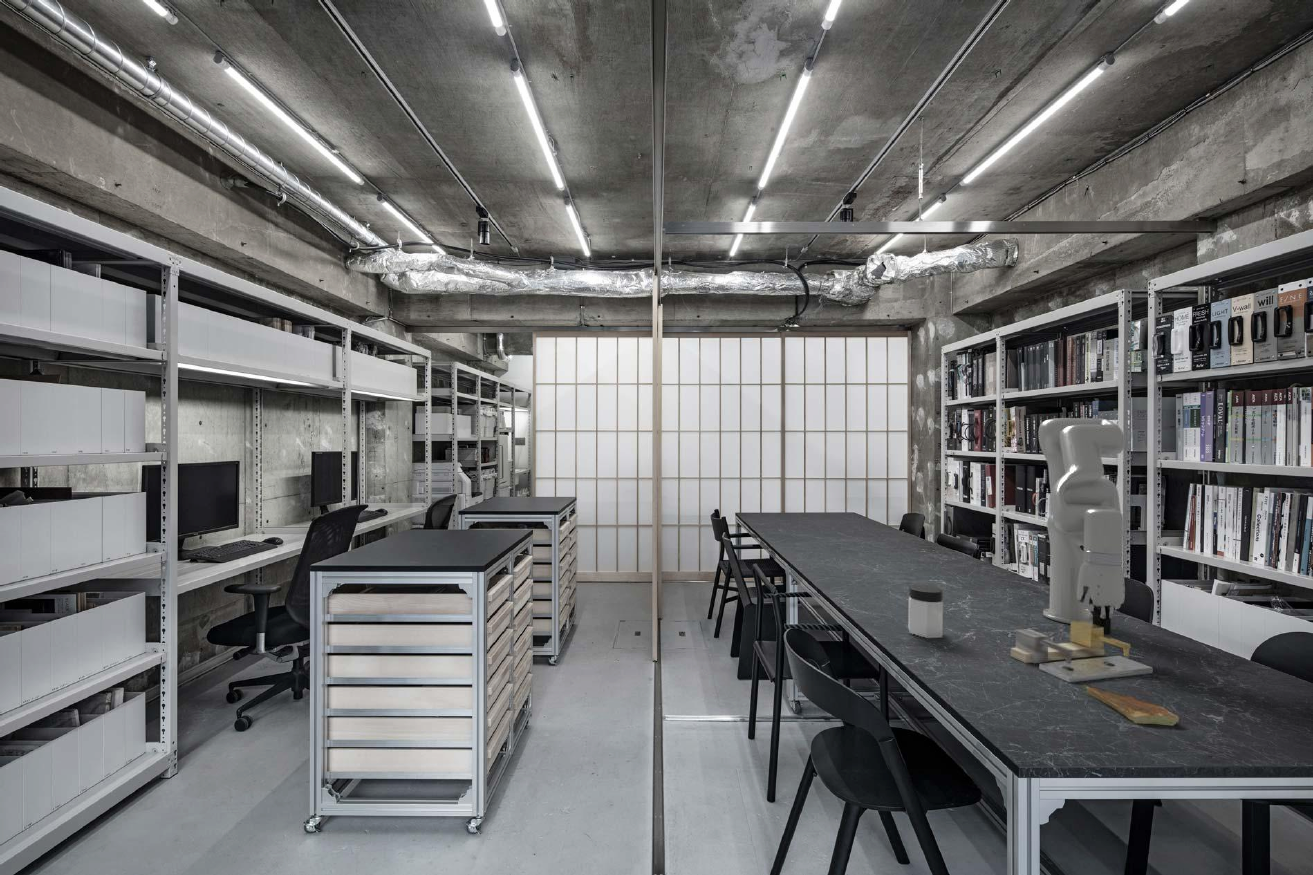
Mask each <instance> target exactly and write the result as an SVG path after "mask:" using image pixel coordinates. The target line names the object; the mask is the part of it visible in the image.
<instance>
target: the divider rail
mask: <svg viewBox="0 0 1313 875" xmlns="http://www.w3.org/2000/svg"><path fill="white" fill-rule="evenodd" d="M1098 656H1101V657H1102V656H1105V646H1103V647H1100V648H1088V647H1086V646H1083V645H1080V644H1077V643H1075V642H1072V641H1071V642H1063V643H1062V642H1061V643H1055V642H1053V641H1051V640H1049V636H1048V635H1046V634H1044V633H1041V632H1038V631H1036V630H1032V629H1029V628H1026V629H1016V630H1015V647H1010V657H1011V658H1013V659H1016V660H1018V661H1020V662H1022V663H1024V664H1029V663H1033V664H1037V663H1038V664H1042V663H1049V662H1050V661H1057V660H1058V661H1059V660H1065V661H1066V663H1068V664H1071V661H1072V659H1077V658H1089V657H1098Z"/></svg>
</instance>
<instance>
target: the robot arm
mask: <svg viewBox="0 0 1313 875" xmlns="http://www.w3.org/2000/svg"><path fill="white" fill-rule="evenodd" d="M1037 432H1038V442H1039V447H1040V449H1041V452H1042V454H1043V456H1044V458H1045V461H1046V463H1047V468H1048V479H1049V480H1048V482H1049V490H1050V491H1049V492H1050V500H1049V501H1050V509H1051V514H1050V515H1049V516H1048V518H1047V523H1046V525H1047V533H1048V538H1049V552H1050V556H1049V558H1050V560H1049V561H1050V562H1049V563H1050V566H1049V567H1050V568H1049V570H1050V571H1049V574H1050V575H1049V608H1045V609H1043V611H1042V612H1043V613H1042V614H1043V616H1044V617H1045V618H1047V619H1050V620H1053V621H1056V622H1061V623H1064V624H1068V625H1071V622H1073V621H1086V622H1089V623H1092V624H1095V625H1098V626H1101V627H1104V636H1107V635H1111V634H1112V633H1111V632H1112V631H1111V630H1112V629H1111V628H1112V625H1111V624H1112V618H1113V617H1114V612H1115V611H1117V610H1118V609H1120V608H1121V605H1122V604H1124V602H1125V598H1126V597H1125V596H1126V595H1125V594H1126V586H1125V575H1124V574H1125V573H1124V569H1123V550H1124V549H1123V546H1124V544H1123V541H1124V540H1123V538H1124V523H1123V522H1124V516H1123V513H1122V511H1121V503H1120V497H1119V496H1120V495H1119V492H1118V488H1117V486H1116V485H1115V483H1114V482H1113V481H1112V480H1110V479H1108V478H1104V477H1103V476H1104V474H1105V469H1104V465H1103V460H1102V455H1119V454H1121V453H1123V451H1124V450H1125V449H1124V448H1125V445H1126V439H1125V435H1124V432H1123V430H1122V429H1121V428H1120V426H1119V425H1117V424H1116V423H1114V422H1112V421H1111V420H1109V419H1106V418H1099V417H1096V418H1095V417H1090V418H1089V417H1085V418H1083V417H1082V418H1081V417H1080V418H1079V417H1076V418H1075V417H1060V418H1057V417H1056V418H1050V419H1046V420H1044V421H1042V422H1041V424H1040V425H1039V427H1038V431H1037ZM1080 546H1083V549H1082V548H1081V547H1080Z"/></svg>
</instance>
